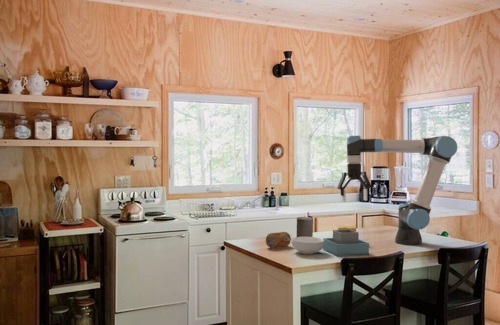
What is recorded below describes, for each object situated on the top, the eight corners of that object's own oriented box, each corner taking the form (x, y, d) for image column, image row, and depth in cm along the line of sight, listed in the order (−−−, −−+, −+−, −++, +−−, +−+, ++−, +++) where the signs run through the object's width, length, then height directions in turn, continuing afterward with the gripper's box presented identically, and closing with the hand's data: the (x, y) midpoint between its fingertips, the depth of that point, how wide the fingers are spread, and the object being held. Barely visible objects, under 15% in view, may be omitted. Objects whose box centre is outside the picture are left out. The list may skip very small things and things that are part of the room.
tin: (267, 249, 263) (267, 233, 263) (264, 247, 266) (264, 232, 266) (291, 246, 270) (291, 231, 270) (288, 245, 273) (288, 230, 273)
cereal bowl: (301, 257, 243) (301, 243, 243) (286, 250, 258) (286, 237, 258) (330, 254, 250) (330, 240, 250) (313, 248, 265) (313, 235, 265)
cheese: (356, 246, 273) (356, 228, 273) (337, 245, 275) (337, 227, 275) (356, 242, 283) (356, 225, 283) (337, 241, 286) (337, 224, 285)
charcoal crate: (349, 247, 262) (350, 229, 262) (358, 251, 253) (358, 232, 252) (332, 248, 260) (332, 230, 260) (340, 252, 250) (340, 233, 250)
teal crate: (353, 247, 267) (353, 237, 267) (368, 254, 250) (368, 243, 250) (322, 249, 263) (322, 238, 263) (336, 256, 245) (336, 244, 245)
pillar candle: (293, 241, 286) (293, 215, 286) (302, 238, 294) (302, 214, 293) (306, 243, 280) (307, 217, 279) (315, 240, 288) (316, 215, 287)
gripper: (370, 162, 278) (370, 199, 278) (330, 163, 271) (331, 201, 271) (377, 162, 271) (377, 200, 271) (337, 164, 263) (337, 202, 264)
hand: (354, 201), depth 271 cm, fingers open, 13 cm apart
